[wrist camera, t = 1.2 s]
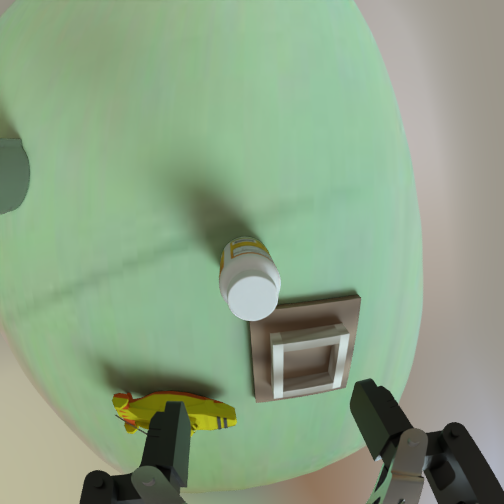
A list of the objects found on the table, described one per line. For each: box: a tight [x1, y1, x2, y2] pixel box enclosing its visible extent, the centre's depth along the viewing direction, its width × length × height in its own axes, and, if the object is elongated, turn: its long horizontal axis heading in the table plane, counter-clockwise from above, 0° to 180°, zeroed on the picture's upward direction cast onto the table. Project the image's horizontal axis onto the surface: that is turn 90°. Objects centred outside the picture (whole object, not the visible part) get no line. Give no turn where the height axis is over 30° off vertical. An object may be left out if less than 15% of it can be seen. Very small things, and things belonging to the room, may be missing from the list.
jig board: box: [249, 295, 361, 403], centre depth 33 cm, size 16×14×4 cm
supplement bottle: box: [219, 237, 281, 321], centre depth 25 cm, size 5×5×10 cm
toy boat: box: [112, 391, 237, 436], centre depth 31 cm, size 6×18×10 cm, turn 89°
